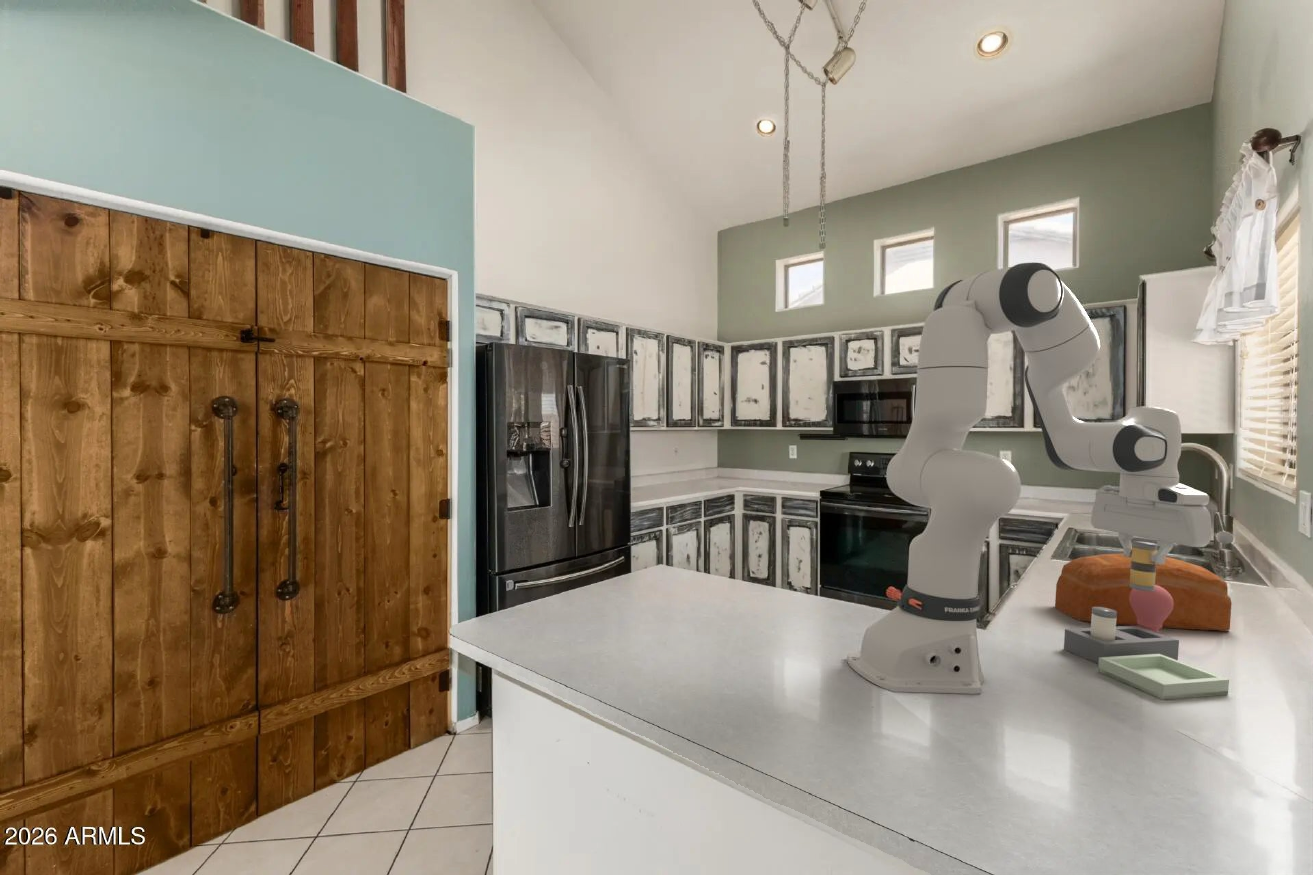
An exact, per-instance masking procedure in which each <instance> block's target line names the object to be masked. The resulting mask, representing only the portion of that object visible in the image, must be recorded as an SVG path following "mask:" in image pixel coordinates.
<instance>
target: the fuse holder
mask: <svg viewBox="0 0 1313 875" xmlns="http://www.w3.org/2000/svg"><path fill="white" fill-rule="evenodd" d="M1090 633H1091V627H1082V628H1081V627H1080V628H1079V627H1077V628H1065V629H1064V639H1063V640H1064V642H1063V644H1064V645H1063V650H1065V651H1067V652H1070V653H1072V654H1075V655H1077V656H1078V657H1079V656H1080V657H1082V658H1083V659H1087V660H1089V661H1091V662H1093V663H1096V664H1097V665H1098V664H1099V658H1100V657H1116V656H1131V655H1147V654H1161V655H1164V656H1167V657H1169V658H1172V659H1175V660H1178V661H1179V649H1180V648H1179V647H1180V639H1177V638H1175V637H1171V636H1169V635H1165V634H1163V633H1160V632H1159V633H1157V632H1154V631H1151V630H1148V629H1145V628H1142V627H1139V626H1134V625H1119V626H1117V625H1116V633H1115V640H1110V641H1104V640H1102V639H1099V638H1096V637H1094V636H1091V635H1090Z"/></svg>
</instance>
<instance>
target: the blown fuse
mask: <svg viewBox="0 0 1313 875" xmlns="http://www.w3.org/2000/svg"><path fill="white" fill-rule="evenodd" d="M1131 542H1132V555H1131V570H1130V586H1129V587H1130V588H1133V589H1136V590H1141V591H1150V592H1153V591H1155V576H1156V563H1151V562H1150V559H1151V557H1150V555H1151V554H1155V553H1156V552H1157V551H1158V546H1157V543H1154V542H1147V541H1137V540H1136V541H1135V540H1131Z"/></svg>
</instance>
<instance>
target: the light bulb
mask: <svg viewBox="0 0 1313 875" xmlns="http://www.w3.org/2000/svg"><path fill="white" fill-rule="evenodd" d="M1129 601H1130V604H1131V607H1132V609H1133V611H1134V613H1135V614H1136V616H1137V619H1138V620H1137V623H1138V624H1139V625H1138V626H1139V627H1142V628H1145V629H1148V630H1151V631H1154V632H1157V633H1160V630H1161V629H1162V628H1163V627H1162V623H1163V622H1164V620H1165V619H1166V618H1167V617H1168V616H1169V614H1170V613H1171V612H1172V610H1173V606H1174V602H1173V599H1172V597H1171V595H1170V594H1169V593H1168V592H1167V591H1166V590H1165V589H1164V588H1162V587H1160V586H1158V585H1155V591H1153V592H1150V591H1141V590H1136V589H1133V590H1132V591H1131V593H1130V596H1129Z"/></svg>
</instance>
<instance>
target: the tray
mask: <svg viewBox="0 0 1313 875" xmlns="http://www.w3.org/2000/svg"><path fill="white" fill-rule="evenodd" d="M1097 666H1098V667H1097V672H1099V673H1101V674H1104V675H1106V676H1108V677H1110V678H1112V679H1114V680H1117V681H1119V682H1122V683H1124V684H1126V685H1128V686H1131V687H1133V688H1135V689H1137V690H1140V691H1142V692H1144V693H1147V694H1149V695H1151V696H1153V697H1154V698H1158V699H1160V700H1162V701H1167V699H1168V700H1178V699H1187V698H1188V699H1189V698H1191V699H1192V698H1201V697H1212V696H1213V697H1214V696H1224V695H1229V686H1230V685H1229V684H1230V679H1229V678H1226V677H1223V676H1221V675H1217V674H1216V673H1215V674H1214V673H1213V672H1210V671H1207V670H1204V669H1201V668H1199V667H1196V666H1193V665H1190V664H1188V663H1185V662H1182V661H1180V660H1179V659H1178V660H1175V659H1172V658H1169V657H1167V656H1164V655H1161V654H1147V655H1131V656H1116V657H1100V658H1099V664H1098V663H1097Z"/></svg>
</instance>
